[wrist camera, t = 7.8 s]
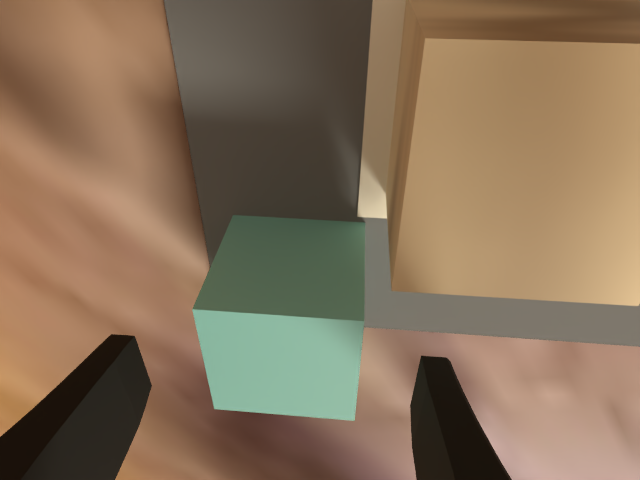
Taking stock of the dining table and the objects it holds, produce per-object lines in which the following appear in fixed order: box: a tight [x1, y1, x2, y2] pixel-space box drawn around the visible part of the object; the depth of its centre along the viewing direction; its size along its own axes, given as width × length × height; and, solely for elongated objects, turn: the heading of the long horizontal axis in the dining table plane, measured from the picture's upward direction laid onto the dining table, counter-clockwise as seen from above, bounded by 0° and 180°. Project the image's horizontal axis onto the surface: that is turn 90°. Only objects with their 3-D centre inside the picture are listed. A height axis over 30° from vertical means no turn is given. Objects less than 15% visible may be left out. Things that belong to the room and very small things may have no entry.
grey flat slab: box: [164, 0, 640, 347], centre depth 11 cm, size 18×18×1 cm
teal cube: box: [192, 215, 365, 421], centre depth 13 cm, size 4×4×4 cm
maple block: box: [386, 0, 640, 306], centre depth 10 cm, size 5×5×4 cm
